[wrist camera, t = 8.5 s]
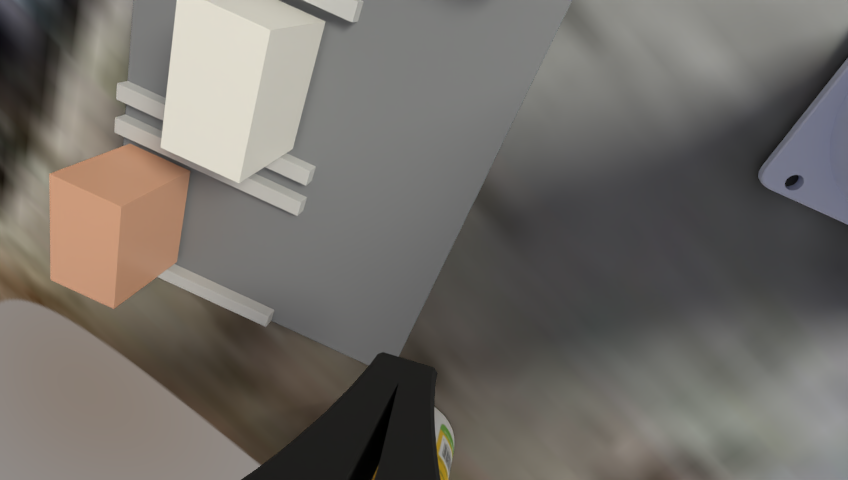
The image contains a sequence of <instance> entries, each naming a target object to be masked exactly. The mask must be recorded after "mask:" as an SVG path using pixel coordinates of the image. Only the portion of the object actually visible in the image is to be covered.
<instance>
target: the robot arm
mask: <svg viewBox="0 0 848 480" xmlns="http://www.w3.org/2000/svg"><path fill="white" fill-rule="evenodd" d="M793 175H798V177H799V178H798V180H797V182H796V183H795V184H793V185H791V186H785V182H786V180H787V179H788V178H789V177H790V176H793ZM758 178H759V180H760V182H761V183H762V184H763V185H764V186H765V187H767V188H768V189H770V190H772V191H774V192H776V193H779V194H781V195H783V196H785V197H788V198H790V199H792V200H794V201H796V202H799V203H801V204H803V205H805V206H807V207H810V208H812V209H814V210H816V211H819V212H821V213H823V214H825V215H827V216H830V217H832V218H834V219H836V220H839V221H841V222H843V223H845V224H847V225H848V58H847V59H846V60H845V62H844V63H843V64H842V66H841V67H840V68H839V69H838V71H837V72H836V73H835V74H834V76H833V77H832V78H831V79H830V81H829V82H828V83H827V84H826V86H825V87H824V88H823V90H822V91H821V92H820V93H819V95H818V96H817V97H816V98H815V100H814V101H813V102H812V103H811V105H810V106H809V107H808V108H807V110H806V111H805V112H804V113H803V115H802V116H801V117H800V119H799V120H798V121H797V122H796V124H795V125H794V126H793V127H792V129H791V130H790V131H789V132H788V134H787V135H786V136H785V137H784V139H783V140H782V141H781V143H780V144H779V145H778V146H777V148H776V149H775V150H774V151H773V153H772V154H771V155H770V156H769V158H768V159H767V160H766V161H765V163H764V164H763V165H762V167H761V168H760V170H759V174H758ZM436 377H437V372H436V370H435V369H434V368H433V367H430V366H427V365H423V364H420V363H417V362H414V361H410V360H407V359H404V358H401V357H397V356H394V355H391V354H388V353H385V352H382V353H379V354H377V355H376V357H375V358H374V360H373V361H372V362H371V364H370V365H369V366H368V367H367V369H366V370H365V371H364V372H363V373H362V375H361V376H360V377H359V378H358V379H357V380H356V381H355V382H354V384H353V385H352V386H351V387H350V388H349V389H348V390H347V391H346V392H345V393H344V394H343V395H342V396H341V397H340V398H339V399H338V400H337V401H336V402H335V403H334V404H333V405H332V406H331V407H330V408H329V409H328V410H327V411H326V412H325V413H324V414H323V415H322V416H321V417H319V418H318V419H317V420H316V421H315V422H314V423H313V424H312V425H310V426H309V427H308V428H307V429H306V430H305V431H304V432H302V433H301V434H300V435H299V436H298V437H297V438H296V439H294V440H293V441H292V442H291V443H290V444H288V445H287V446H286V447H285V448H283V449H282V450H281V451H280V452H278V453H277V454H276V455H275V456H273V457H272V458H271V459H269V460H268V461H267V462H265V463H264V464H263V465H261V466H260V467H259V468H258V469H256V470H254V471H253V472H252V473H250V474H249V475H247V476H246V477H244V478H243V479H242V480H372V479H373V476H374V474H375V472H376V469H377V467H378V469H377V472H376V475H375V478H374V480H441V479H440V473H439V465H438V457H437V446H436V435H435V418H434V396H435V384H436Z"/></svg>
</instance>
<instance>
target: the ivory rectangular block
mask: <svg viewBox="0 0 848 480" xmlns="http://www.w3.org/2000/svg"><path fill="white" fill-rule="evenodd" d="M325 22H326V21H323V20H321V19H319V18H317V17H315V16H312V15H310V14H308V13H306V12H303V11H301V10H299V9H297V8H295V7H292V6H290V5H288V4H286V3H284V2H281V1H279V0H177V3H176V12H175V21H174V30H173V39H172V48H171V57H170V66H169V75H168V84H167V93H166V102H165V111H164V120H163V129H162V138H161V148H163V149H165V150H167V151H169V152H171V153H174V154H176V155H178V156H180V157H182V158H185V159H187V160H189V161H191V162H193V163H196V164H198V165H200V166H202V167H204V168H207V169H209V170H211V171H213V172H215V173H217V174H220V175H222V176H224V177H226V178H228V179H231V180H233V181H235V182H237V183H240V182H242V181H243V180H245V179H247V178H248V177H250V176H251V175H253V174H254V173H256V172H258V171H259V170H261V169H262V168H264V167H265V166H267V165H268V164H270V163H272V162H273V161H275V160H276V159H278V158H279V157H281V156H283V155H284V154H286V153H287V152H289V151H290V150H292V149H293V146H294V142H295V138H296V134H297V130H298V127H299V123H300V119H301V115H302V111H303V107H304V103H305V99H306V96H307V92H308V88H309V84H310V80H311V76H312V72H313V68H314V65H315V61H316V57H317V53H318V49H319V45H320V41H321V37H322V33H323V30H324V26H325Z"/></svg>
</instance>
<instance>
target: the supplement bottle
mask: <svg viewBox="0 0 848 480" xmlns="http://www.w3.org/2000/svg"><path fill="white" fill-rule="evenodd" d="M434 418H435V435H436V446H437V457H438V465H439V473H440V479H441V480H448V479H449V474H450V469H451V464H452V459H453V452H454V434H453V430H452V428H451V425H450V423H449V422H448V420H447V419H446V417H445V416H444V415H443V414H442V413H441V412H440V411H439V410H438V409H437V408H435V407H434ZM377 469H378V467H377ZM377 469H376V472H377ZM376 472H375V474H374V476H373V479H372V480H374V478H375V475H376Z"/></svg>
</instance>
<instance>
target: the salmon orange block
mask: <svg viewBox="0 0 848 480" xmlns="http://www.w3.org/2000/svg"><path fill="white" fill-rule="evenodd" d="M189 177H190V171H189V170H187V169H185V168H183V167H181V166H178V165H176V164H174V163H172V162H170V161H167V160H165V159H163V158H161V157H159V156H156V155H154V154H152V153H150V152H148V151H145V150H143V149H141V148H139V147H137V146H135V145H132V144H128V145H125V146H122V147H120V148H117V149H114V150H112V151H109V152H106V153H104V154H101V155H98V156H96V157H93V158H90V159H88V160H85V161H82V162H80V163H77V164H74V165H72V166H69V167H66V168H64V169H61V170H58V171H56V172H53V173H50V174H49V178H50V263H51V280H52V281H54V282H56V283H59V284H61V285H63V286H65V287H67V288H69V289H72V290H74V291H76V292H78V293H80V294H82V295H85V296H87V297H89V298H91V299H93V300H96V301H98V302H100V303H102V304H104V305H106V306H109V307H111V308H113V309H115V308H116V307H117V306H119V305H120V304H121V303H123V302H124V301H125V300H127V299H128V298H129V297H131V296H132V295H133V294H135V293H136V292H137V291H139V290H140V289H141V288H143V287H144V286H145V285H147V284H148V283H149V282H151V281H152V280H153V279H155V278H156V277H157V276H159V275H160V274H161V273H163V272H164V271H165V270H167V269H168V268H169V267H171V266H172V265H174V264H175V263H176V262H177V258H178V252H179V245H180V238H181V231H182V225H183V218H184V211H185V204H186V198H187V191H188V184H189Z"/></svg>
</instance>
